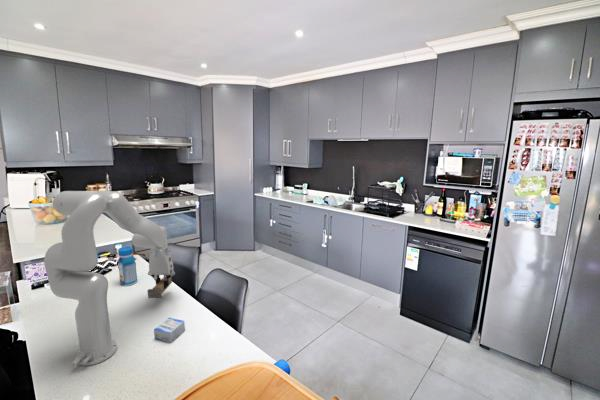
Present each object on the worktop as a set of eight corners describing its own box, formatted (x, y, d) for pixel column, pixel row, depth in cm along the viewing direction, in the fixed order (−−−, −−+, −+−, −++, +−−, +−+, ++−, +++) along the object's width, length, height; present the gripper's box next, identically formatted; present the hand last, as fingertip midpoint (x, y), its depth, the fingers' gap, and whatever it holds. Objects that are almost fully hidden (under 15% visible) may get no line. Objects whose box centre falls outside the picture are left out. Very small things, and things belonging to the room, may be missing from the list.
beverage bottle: (132, 286, 156) (128, 251, 152) (116, 286, 156) (112, 251, 152) (140, 279, 164) (137, 246, 160) (126, 279, 164) (122, 245, 160)
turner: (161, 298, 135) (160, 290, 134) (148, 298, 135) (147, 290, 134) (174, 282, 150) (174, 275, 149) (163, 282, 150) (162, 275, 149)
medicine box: (184, 320, 120) (169, 333, 112) (185, 330, 121) (170, 343, 112) (169, 316, 122) (153, 329, 114) (169, 326, 123) (154, 339, 115)
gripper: (179, 249, 143) (182, 283, 146) (146, 248, 143) (150, 282, 147) (172, 255, 135) (175, 291, 139) (138, 254, 136) (142, 290, 139)
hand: (162, 286), depth 143 cm, fingers closed on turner, 3 cm apart
